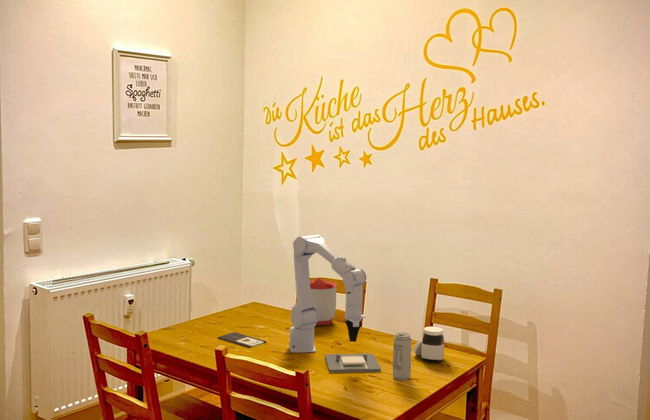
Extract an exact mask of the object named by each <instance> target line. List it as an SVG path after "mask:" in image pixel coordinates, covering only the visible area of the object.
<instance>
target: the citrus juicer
mask: <svg viewBox="0 0 650 420" xmlns="http://www.w3.org/2000/svg"><path fill="white" fill-rule="evenodd" d="M337 287H338V284H337V283H335V282H333V281H328V280H323V279H322V278H321V277H318V278H316V279H315V280H310V289H311V301H312V302H314V303H315V304H316V306H317V311H318V314H319V320H318V322H317V323H316V326H329V325H330V324H332V322H333V320H334V317H335V314H336V311H337V310H336V309H337Z"/></svg>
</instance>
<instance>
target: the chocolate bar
mask: <svg viewBox="0 0 650 420" xmlns="http://www.w3.org/2000/svg"><path fill="white" fill-rule="evenodd" d="M217 339H219V340H222V341H225V340H226V341H225V342H229V343H232V344H235V345H238V346H242V347H245V348H248V349H252V348H253V347H256V346H260V345H263V344H266V343H267V340H264V339H260V338H256V337H254V336H253V337H252V336H250V335H247V334H243V333H240V332H236V331H233V332H231V333H228V334H223V335H220V336H218V337H217Z"/></svg>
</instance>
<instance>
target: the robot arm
mask: <svg viewBox="0 0 650 420" xmlns="http://www.w3.org/2000/svg"><path fill="white" fill-rule="evenodd" d="M292 246H293V264H294V266H293V268H294V278H295V291H296V302H295V303H294V304H293V306H292V307H291V315H290V321H291V322H290V323H291V324H292V325H293V326H289V341H288V347H289V350H290V351H289V352H290V353H316V352H317V351H316V347H315V327H316V326H317V325H316V323H317V322H318V320H319V314H318V311H317V306H316V304H315V303H314V302H312V301H311V289H310V281H311V278H310V267H309V266H310V265H309V260H310V259H311V257H312V256H313V255H315V254H318V255H319V256H321V258H323V259H325V260H326V261H327V262H328V263H329V264H330V267H331V269H332V270H333V271H334V272H335V273H336V274H337V275H338V276H339V277H341V279H342V283H343V285H344V290H345V313H344V318H345V320H344V322H345V325H346V327H347V332H348V339H349V341H350V343H351V342H352V343H353V342H354V343H355V342H357V338H358V335H359V331H360V329H361V327H362V325H363V322H362V319H365V318H366V315H365V314H363V285H364V284H366V281H367V275H366V272H365V271H364V270H363V268H362V267H359V268H357V267H356V266H355V265H354V264H352V263H350V261H348V260H347V258H346V257H345V256H341V255H340V256H338V255H337V254H336V253H335V251H333V250H332V249H331V248H330V247H329V246H328V245H327V243H325V239H324V238H323V237H322V236H321V235H320V234H318V233H317V234H312V235H304V236H297V237H296V238H295V239H294V240H293V242H292Z"/></svg>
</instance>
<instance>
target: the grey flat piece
mask: <svg viewBox="0 0 650 420" xmlns="http://www.w3.org/2000/svg"><path fill="white" fill-rule="evenodd" d="M346 356H363V358H364V360H365V362H366V364H364V365H343V363H342V360H341V357H346ZM324 359H325V362H326V366H327V369H328V373H335V374H336V373H380V372H381V371H382V368H381V366H380V365H379V362H378V361H377V358H376V357H375V354H374V353H350V354H349V353H341V354H340V353H335V354H333V353H329V354H326V353H325V354H324Z"/></svg>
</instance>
